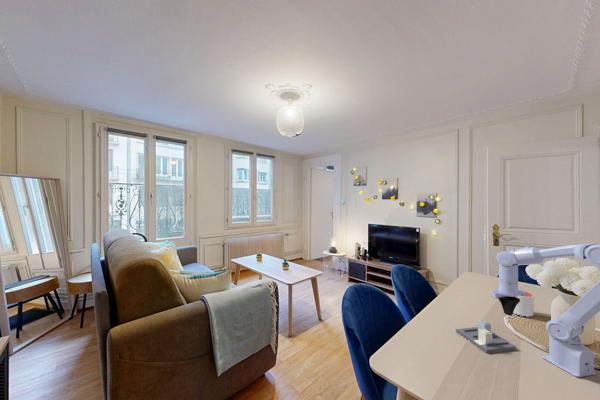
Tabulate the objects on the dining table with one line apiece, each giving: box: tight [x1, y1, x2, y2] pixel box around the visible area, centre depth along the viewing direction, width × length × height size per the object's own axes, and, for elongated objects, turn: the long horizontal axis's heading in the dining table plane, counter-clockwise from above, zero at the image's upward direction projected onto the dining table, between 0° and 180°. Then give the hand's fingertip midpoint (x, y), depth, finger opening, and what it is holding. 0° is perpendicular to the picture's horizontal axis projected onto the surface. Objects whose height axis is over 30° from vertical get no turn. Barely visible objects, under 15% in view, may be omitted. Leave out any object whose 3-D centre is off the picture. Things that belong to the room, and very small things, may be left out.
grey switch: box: [477, 319, 492, 332], centre depth 94 cm, size 3×3×4 cm
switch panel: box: [455, 326, 517, 354], centre depth 91 cm, size 14×13×2 cm
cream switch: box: [478, 329, 492, 344], centre depth 88 cm, size 3×3×4 cm
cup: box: [513, 291, 535, 318], centre depth 113 cm, size 10×10×10 cm
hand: (508, 314), depth 92 cm, fingers closed
